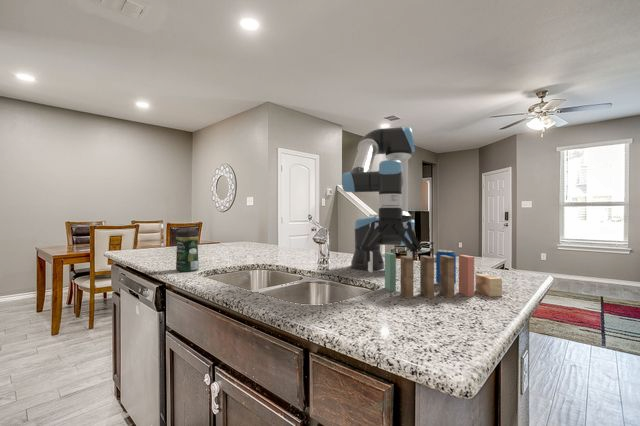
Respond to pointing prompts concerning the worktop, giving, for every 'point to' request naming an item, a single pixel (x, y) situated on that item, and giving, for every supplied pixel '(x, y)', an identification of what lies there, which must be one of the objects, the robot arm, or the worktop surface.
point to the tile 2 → (407, 277)
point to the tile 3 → (427, 276)
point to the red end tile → (466, 275)
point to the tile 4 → (447, 275)
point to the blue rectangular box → (440, 252)
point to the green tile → (390, 271)
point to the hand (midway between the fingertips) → (390, 271)
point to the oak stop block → (489, 285)
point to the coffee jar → (187, 250)
